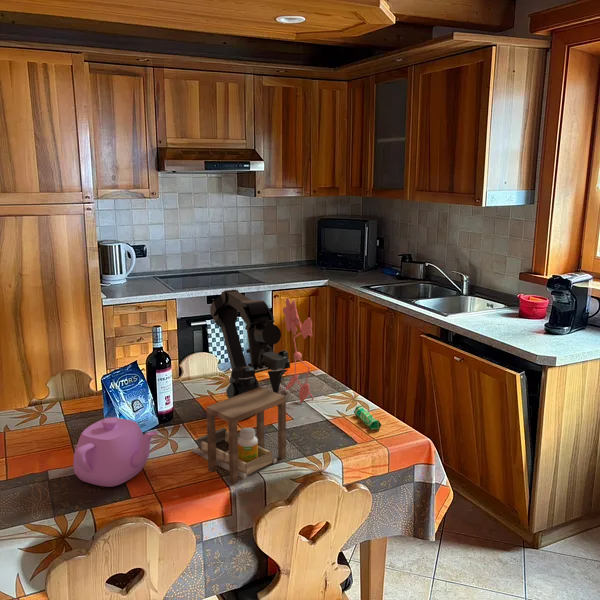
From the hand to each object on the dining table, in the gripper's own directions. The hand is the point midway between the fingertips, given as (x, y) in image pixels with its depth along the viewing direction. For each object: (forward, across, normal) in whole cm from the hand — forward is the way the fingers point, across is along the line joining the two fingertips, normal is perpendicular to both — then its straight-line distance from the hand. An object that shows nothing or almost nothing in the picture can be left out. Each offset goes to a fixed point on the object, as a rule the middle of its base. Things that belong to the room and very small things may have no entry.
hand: (265, 397), depth 175 cm
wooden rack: (+13, -13, +1) cm, 19 cm away
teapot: (+12, -40, +17) cm, 45 cm away
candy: (+14, +30, -13) cm, 35 cm away
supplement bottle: (+15, -13, -4) cm, 21 cm away
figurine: (+6, +28, +18) cm, 33 cm away
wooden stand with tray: (+14, -13, +1) cm, 19 cm away
